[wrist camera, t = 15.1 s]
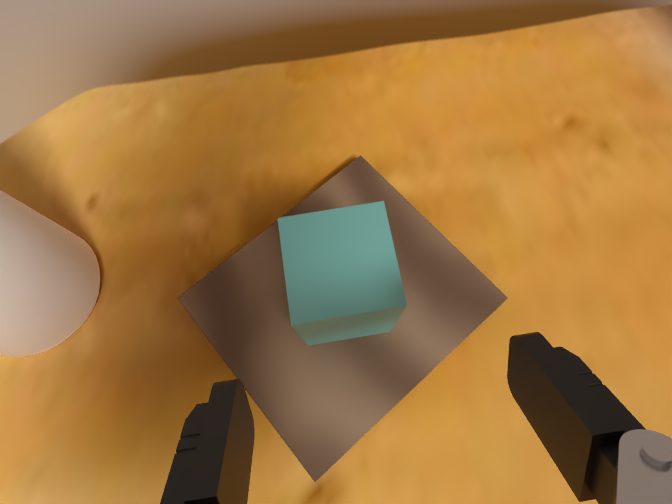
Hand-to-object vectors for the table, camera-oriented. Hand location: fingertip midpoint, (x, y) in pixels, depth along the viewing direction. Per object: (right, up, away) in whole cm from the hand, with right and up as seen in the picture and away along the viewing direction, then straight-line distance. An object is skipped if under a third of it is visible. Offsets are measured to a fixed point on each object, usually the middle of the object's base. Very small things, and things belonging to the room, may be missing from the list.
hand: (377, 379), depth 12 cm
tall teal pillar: (-1, +1, +14) cm, 14 cm away
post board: (-1, 0, +16) cm, 16 cm away
